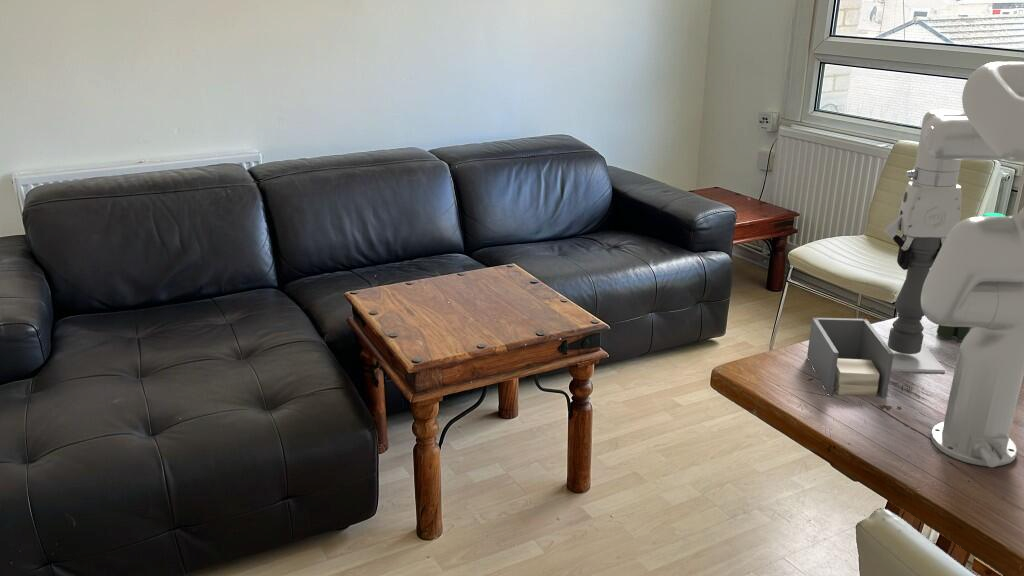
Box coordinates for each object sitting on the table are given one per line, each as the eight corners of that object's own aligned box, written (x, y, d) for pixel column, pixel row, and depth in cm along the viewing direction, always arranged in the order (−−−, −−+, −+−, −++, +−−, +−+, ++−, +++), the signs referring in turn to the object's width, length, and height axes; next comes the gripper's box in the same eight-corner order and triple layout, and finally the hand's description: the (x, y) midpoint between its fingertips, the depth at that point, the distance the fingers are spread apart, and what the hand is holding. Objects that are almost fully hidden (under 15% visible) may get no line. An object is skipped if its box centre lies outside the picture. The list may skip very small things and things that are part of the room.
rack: (886, 397, 152) (893, 354, 148) (827, 395, 153) (834, 352, 149) (860, 359, 166) (866, 318, 163) (807, 357, 167) (812, 317, 164)
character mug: (925, 340, 174) (936, 284, 170) (922, 327, 180) (933, 272, 176) (982, 347, 171) (995, 290, 166) (978, 334, 177) (990, 278, 172)
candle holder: (926, 354, 163) (949, 235, 154) (895, 354, 163) (916, 235, 154) (912, 341, 169) (934, 225, 159) (882, 341, 169) (902, 225, 160)
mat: (944, 372, 160) (945, 369, 160) (881, 370, 162) (882, 368, 161) (922, 346, 172) (922, 343, 171) (863, 344, 173) (863, 342, 172)
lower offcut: (876, 397, 153) (878, 386, 152) (837, 396, 153) (839, 385, 152) (865, 382, 158) (867, 371, 157) (828, 381, 159) (830, 370, 158)
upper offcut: (877, 386, 152) (879, 374, 151) (838, 384, 153) (840, 372, 152) (869, 371, 157) (871, 360, 156) (831, 369, 158) (833, 358, 157)
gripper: (894, 181, 150) (879, 273, 157) (992, 182, 148) (973, 275, 155) (881, 172, 157) (867, 260, 164) (974, 173, 155) (956, 262, 162)
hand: (919, 266), depth 159 cm, fingers closed on candle holder, 5 cm apart
